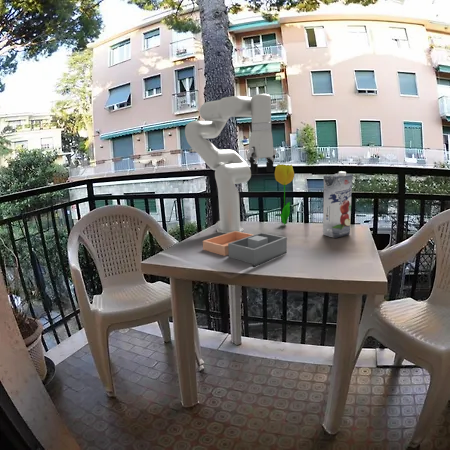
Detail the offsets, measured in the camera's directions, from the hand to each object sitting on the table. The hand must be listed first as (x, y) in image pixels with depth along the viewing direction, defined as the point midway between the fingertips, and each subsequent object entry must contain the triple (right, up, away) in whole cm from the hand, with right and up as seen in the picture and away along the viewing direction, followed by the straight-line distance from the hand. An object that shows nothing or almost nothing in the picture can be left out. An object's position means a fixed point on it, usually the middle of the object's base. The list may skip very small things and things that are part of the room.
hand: (262, 173), depth 128 cm
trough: (-13, -30, -3) cm, 33 cm away
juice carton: (+33, -25, +9) cm, 42 cm away
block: (-3, -31, -13) cm, 34 cm away
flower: (+15, -21, +30) cm, 39 cm away
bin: (-3, -32, -12) cm, 35 cm away
